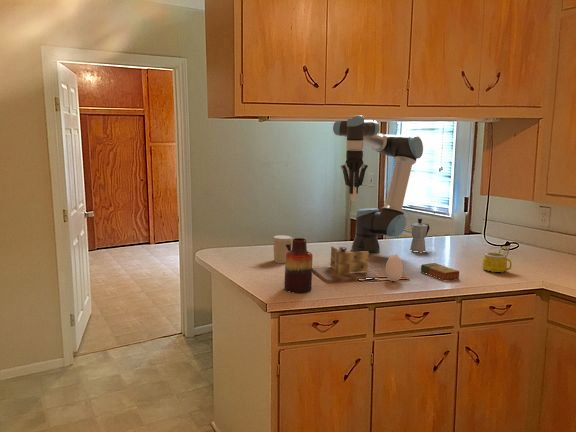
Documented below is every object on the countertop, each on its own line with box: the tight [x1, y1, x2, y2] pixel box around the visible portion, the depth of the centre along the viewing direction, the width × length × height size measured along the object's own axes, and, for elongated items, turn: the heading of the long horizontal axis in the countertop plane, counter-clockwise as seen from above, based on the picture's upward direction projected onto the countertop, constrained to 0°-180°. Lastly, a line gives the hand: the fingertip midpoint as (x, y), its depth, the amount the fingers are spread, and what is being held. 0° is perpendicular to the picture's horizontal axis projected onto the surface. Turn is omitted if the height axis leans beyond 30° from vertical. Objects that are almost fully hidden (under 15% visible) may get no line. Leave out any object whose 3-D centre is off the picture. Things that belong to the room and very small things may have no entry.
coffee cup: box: [272, 234, 293, 264], centre depth 247 cm, size 9×9×12 cm
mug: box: [481, 246, 513, 273], centre depth 240 cm, size 13×11×12 cm
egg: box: [384, 254, 404, 282], centre depth 217 cm, size 7×7×12 cm
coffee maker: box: [409, 218, 430, 252], centre depth 278 cm, size 15×9×18 cm, turn 129°
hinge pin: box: [338, 246, 348, 252], centre depth 223 cm, size 3×3×11 cm
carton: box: [420, 262, 460, 281], centre depth 230 cm, size 8×16×4 cm, turn 25°
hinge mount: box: [312, 246, 380, 283], centre depth 226 cm, size 24×20×11 cm
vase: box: [284, 237, 314, 294], centre depth 202 cm, size 11×11×20 cm
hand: (353, 200), depth 237 cm, fingers closed
